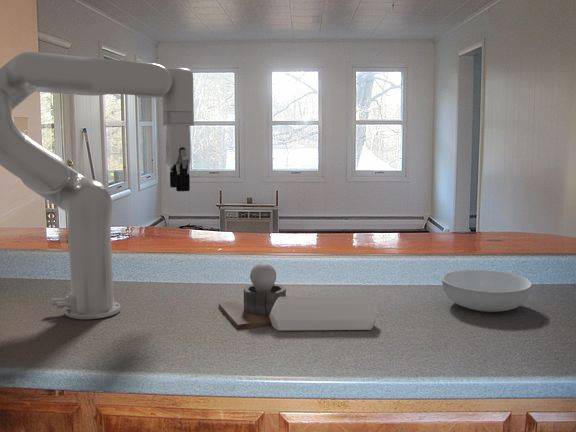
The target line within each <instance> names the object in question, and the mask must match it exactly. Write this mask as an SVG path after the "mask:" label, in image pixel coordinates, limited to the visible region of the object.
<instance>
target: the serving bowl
mask: <svg viewBox="0 0 576 432" xmlns="http://www.w3.org/2000/svg"><path fill="white" fill-rule="evenodd" d="M441 282H442V289H443V291H444V293H445V295H446V296H447V297H448V299H450V300H451V301H452V302H453V303H454V304H456V305H458V306H461V307H464V308H467V309H470V310H471V311H476V312H484V313H495V312H496V313H497V312H504V311H511V310H514V309H516V308H518V307H520V306H522V305H523V304H524V303H525V302H526V301H527V300H528V298H529V297H530V295H531V292H532V288H533V287H532V286H533V284H532V281H530V279H528V278H526V277H523V276H521V275H518V274H515V273H509V272H504V271H498V270H497V271H496V270H491V269H490V270H489V269H488V270H487V269H462V270H453V271H449V272H446V273H445V274H443V275H442V277H441Z"/></svg>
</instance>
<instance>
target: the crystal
mask: <svg viewBox="0 0 576 432" xmlns="http://www.w3.org/2000/svg"><path fill="white" fill-rule="evenodd" d="M269 316H270V320H271V324H272V325H271V327H273V329H275V330H277V331H371V330H373V327H374V326H375V324H376V322H377V320H378V316H379V314H378V312H377V310H376V308H375V307H374V305H373V302H372V301H371V299H370V297H369V296H368V295H364V296H363V295H361V296H360V295H356V296H352V295H351V296H350V295H349V296H346V295H345V296H344V295H342V296H338V295H337V296H333V295H331V296H324V295H323V296H289V297H279V298H278V299H277V300H276V302H275V304H274V306H273V308H272V310H271V312H270V315H269Z"/></svg>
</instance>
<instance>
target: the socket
mask: <svg viewBox="0 0 576 432" xmlns="http://www.w3.org/2000/svg"><path fill="white" fill-rule="evenodd" d="M279 297H290V296H288V295H287V288H286V287H285V286H284V285H281V284H278V283H277V284H276V283H274V285H273V287H272V289H271V293H256V290H255V287H254V285H253V284H251V285H247V286H245V287H244V288H243V300H238V301H225V302H224V301H223V302H218V308H219V309H220V310H221V312H222V313H223V314H224V315H225V317H227V318H228V320H229V321H230V322H231V323H232V324H233V325H234V327H235V328H236V329H237V330H241V329H250V328H261V327H268V326H272V324H271V320H270V316H269V315H270V312H271V310H272V308H273V306H274V304H275V302H276V300H277V299H278V298H279Z"/></svg>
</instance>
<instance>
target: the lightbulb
mask: <svg viewBox="0 0 576 432" xmlns="http://www.w3.org/2000/svg"><path fill="white" fill-rule="evenodd" d="M249 278H250V282H251V283H252V284H251V285H254V287H255V290H256V293H271V289H272V287H273V285H274V284H276V281H277V280H276V279H277V272H276V270H275V268H274V267H273V265H271V264H269V263H266V262H260V263H258V264H256V265H254V266H253V267H252V269H251V272H250V275H249Z"/></svg>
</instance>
